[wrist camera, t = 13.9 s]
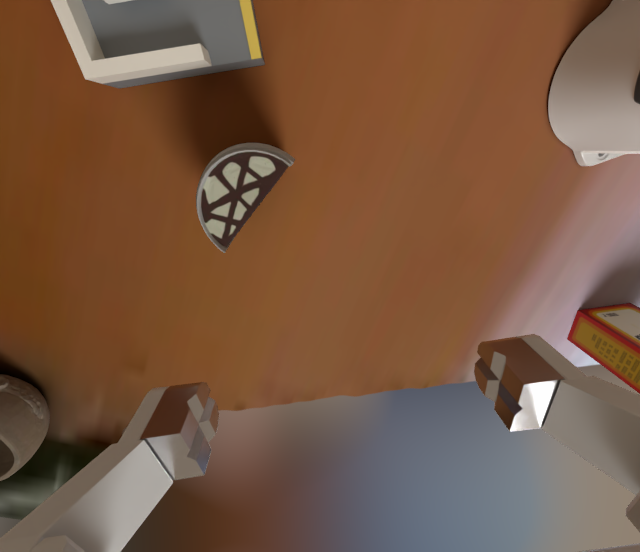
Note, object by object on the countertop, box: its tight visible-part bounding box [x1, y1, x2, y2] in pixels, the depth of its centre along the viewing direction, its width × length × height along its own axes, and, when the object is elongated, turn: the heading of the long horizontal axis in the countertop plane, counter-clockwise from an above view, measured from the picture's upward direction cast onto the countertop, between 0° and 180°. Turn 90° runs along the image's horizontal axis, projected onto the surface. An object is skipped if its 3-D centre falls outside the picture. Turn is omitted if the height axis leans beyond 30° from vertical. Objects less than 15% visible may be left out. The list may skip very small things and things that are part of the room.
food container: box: [196, 143, 295, 253], centre depth 31 cm, size 12×6×10 cm, turn 139°
